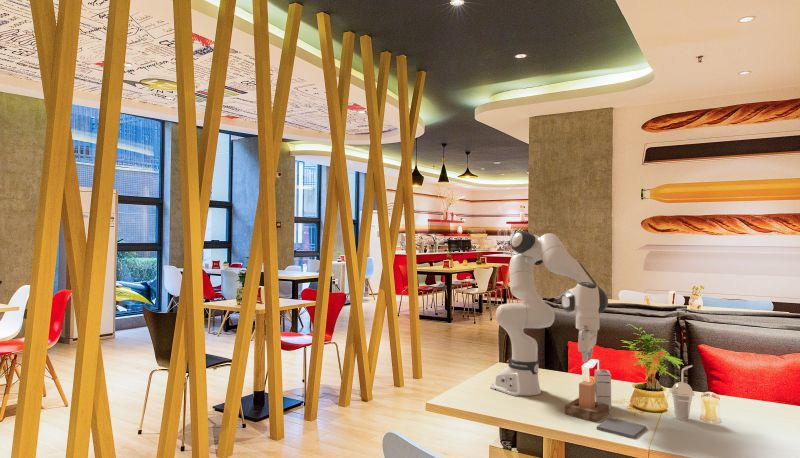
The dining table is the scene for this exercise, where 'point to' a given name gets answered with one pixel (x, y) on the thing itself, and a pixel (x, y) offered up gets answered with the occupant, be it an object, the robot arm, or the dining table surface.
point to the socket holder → (587, 411)
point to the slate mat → (621, 427)
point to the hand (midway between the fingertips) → (587, 359)
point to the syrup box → (603, 387)
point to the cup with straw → (682, 398)
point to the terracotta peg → (587, 395)
